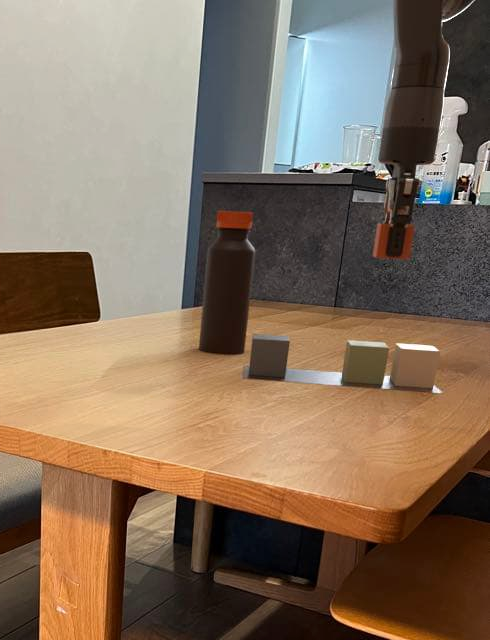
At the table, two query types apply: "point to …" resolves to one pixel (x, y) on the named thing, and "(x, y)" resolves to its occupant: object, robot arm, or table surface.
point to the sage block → (365, 362)
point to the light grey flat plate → (332, 380)
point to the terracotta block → (383, 237)
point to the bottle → (227, 286)
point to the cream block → (414, 365)
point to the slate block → (269, 355)
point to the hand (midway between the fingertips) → (391, 255)
